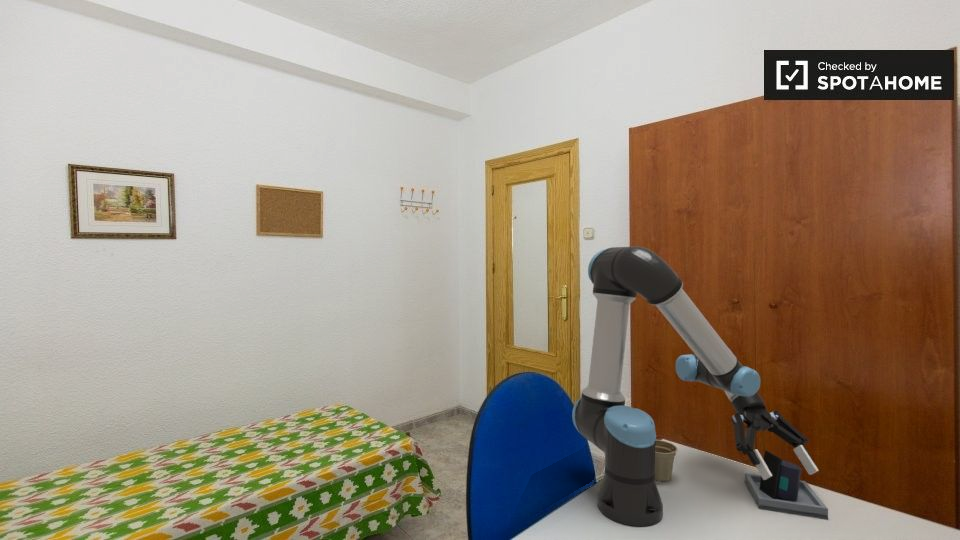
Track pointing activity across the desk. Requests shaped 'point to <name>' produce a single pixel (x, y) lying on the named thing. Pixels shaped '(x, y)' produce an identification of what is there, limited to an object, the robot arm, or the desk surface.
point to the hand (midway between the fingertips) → (791, 475)
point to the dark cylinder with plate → (781, 478)
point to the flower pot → (664, 459)
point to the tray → (802, 506)
